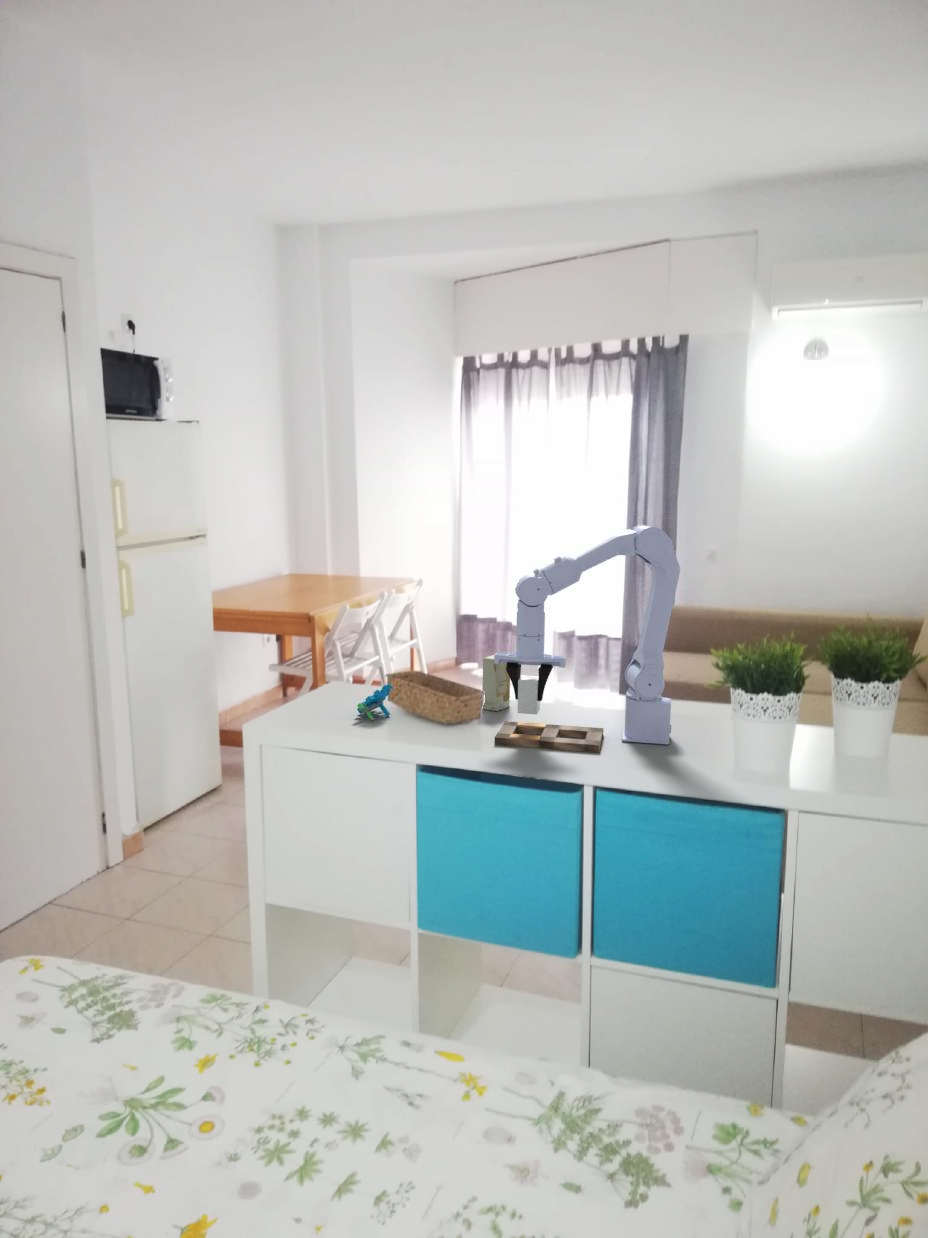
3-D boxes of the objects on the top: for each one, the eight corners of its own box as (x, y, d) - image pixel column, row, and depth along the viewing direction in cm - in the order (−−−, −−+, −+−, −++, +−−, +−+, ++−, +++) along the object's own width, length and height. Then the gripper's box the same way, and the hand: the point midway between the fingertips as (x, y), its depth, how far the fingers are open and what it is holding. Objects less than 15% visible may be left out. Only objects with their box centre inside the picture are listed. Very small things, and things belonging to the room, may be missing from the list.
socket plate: (603, 735, 180) (603, 727, 180) (599, 752, 168) (599, 744, 168) (505, 728, 185) (505, 720, 184) (494, 744, 173) (494, 736, 173)
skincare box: (497, 712, 197) (498, 660, 195) (481, 709, 199) (481, 658, 197) (510, 706, 203) (511, 655, 201) (494, 703, 205) (495, 653, 203)
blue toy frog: (378, 700, 201) (397, 676, 195) (393, 719, 199) (413, 696, 193) (345, 716, 192) (364, 691, 186) (360, 736, 191) (380, 713, 185)
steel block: (539, 709, 178) (540, 676, 177) (536, 714, 174) (537, 681, 173) (520, 708, 179) (521, 675, 178) (517, 713, 175) (518, 679, 174)
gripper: (568, 632, 176) (566, 696, 178) (499, 629, 179) (498, 692, 182) (564, 638, 169) (562, 705, 172) (492, 635, 173) (491, 700, 175)
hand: (529, 699), depth 176 cm, fingers closed on steel block, 4 cm apart
